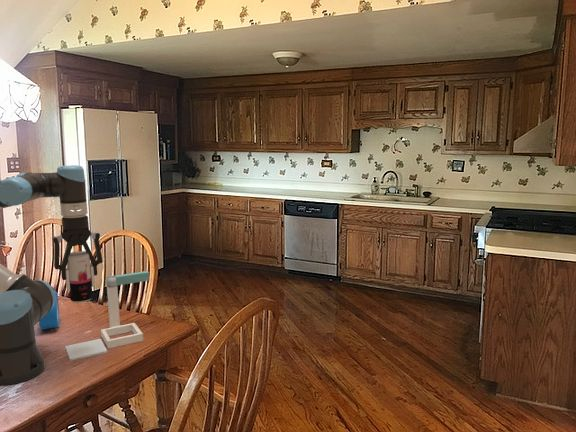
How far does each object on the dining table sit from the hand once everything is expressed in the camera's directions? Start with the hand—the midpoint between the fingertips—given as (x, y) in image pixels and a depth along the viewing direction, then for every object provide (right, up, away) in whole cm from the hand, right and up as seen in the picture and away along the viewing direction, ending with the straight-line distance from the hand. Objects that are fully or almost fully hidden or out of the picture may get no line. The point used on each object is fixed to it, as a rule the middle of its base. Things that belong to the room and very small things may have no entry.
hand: (80, 287), depth 154 cm
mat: (0, -21, +4) cm, 21 cm away
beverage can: (0, -4, +1) cm, 4 cm away
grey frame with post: (+7, -19, +15) cm, 25 cm away
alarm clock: (-21, -18, +22) cm, 35 cm away
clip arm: (+8, -1, +22) cm, 23 cm away
